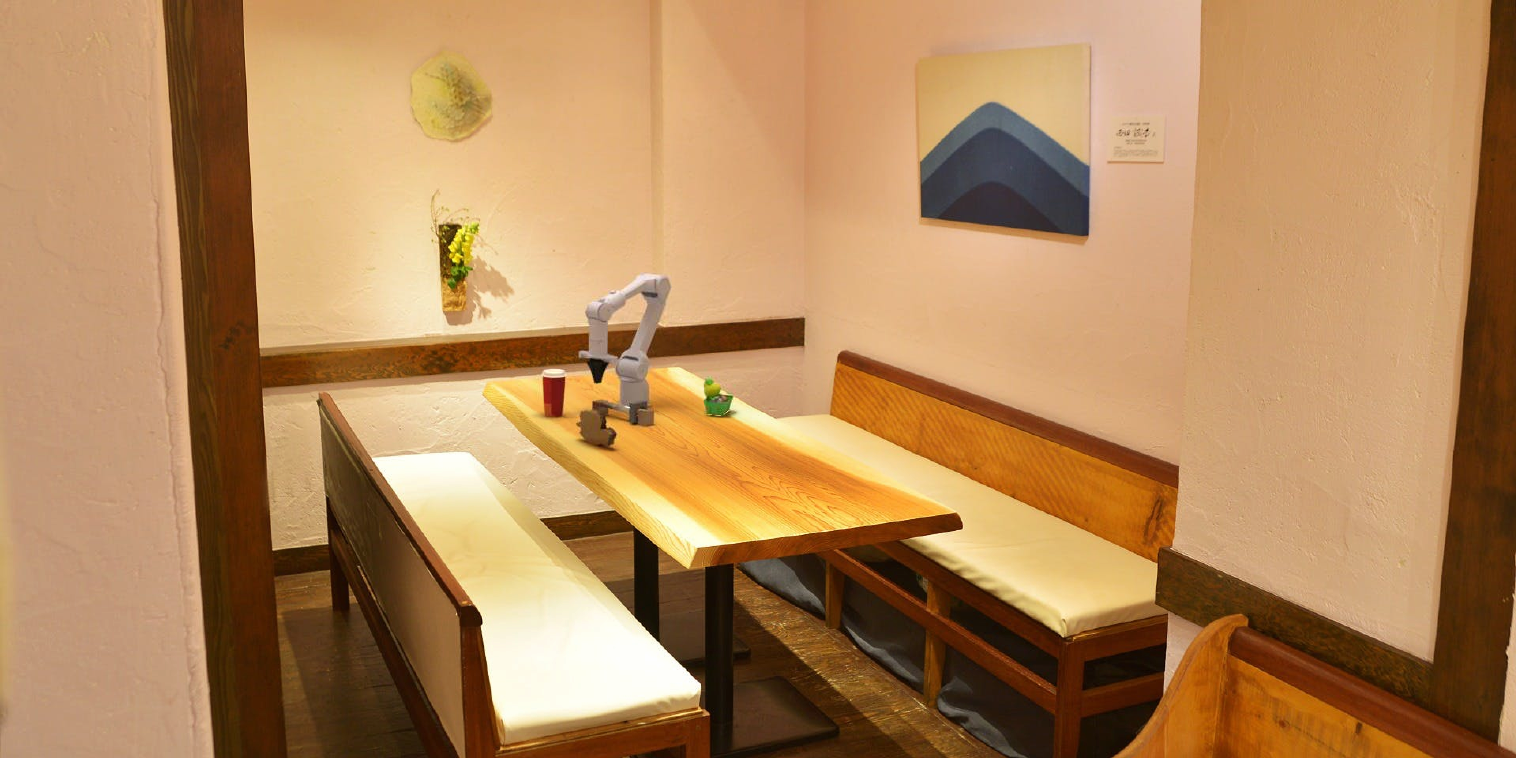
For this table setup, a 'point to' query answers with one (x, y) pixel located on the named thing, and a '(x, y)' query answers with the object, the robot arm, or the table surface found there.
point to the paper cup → (553, 392)
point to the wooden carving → (596, 428)
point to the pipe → (643, 415)
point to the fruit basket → (715, 399)
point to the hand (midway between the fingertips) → (597, 382)
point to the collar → (633, 410)
